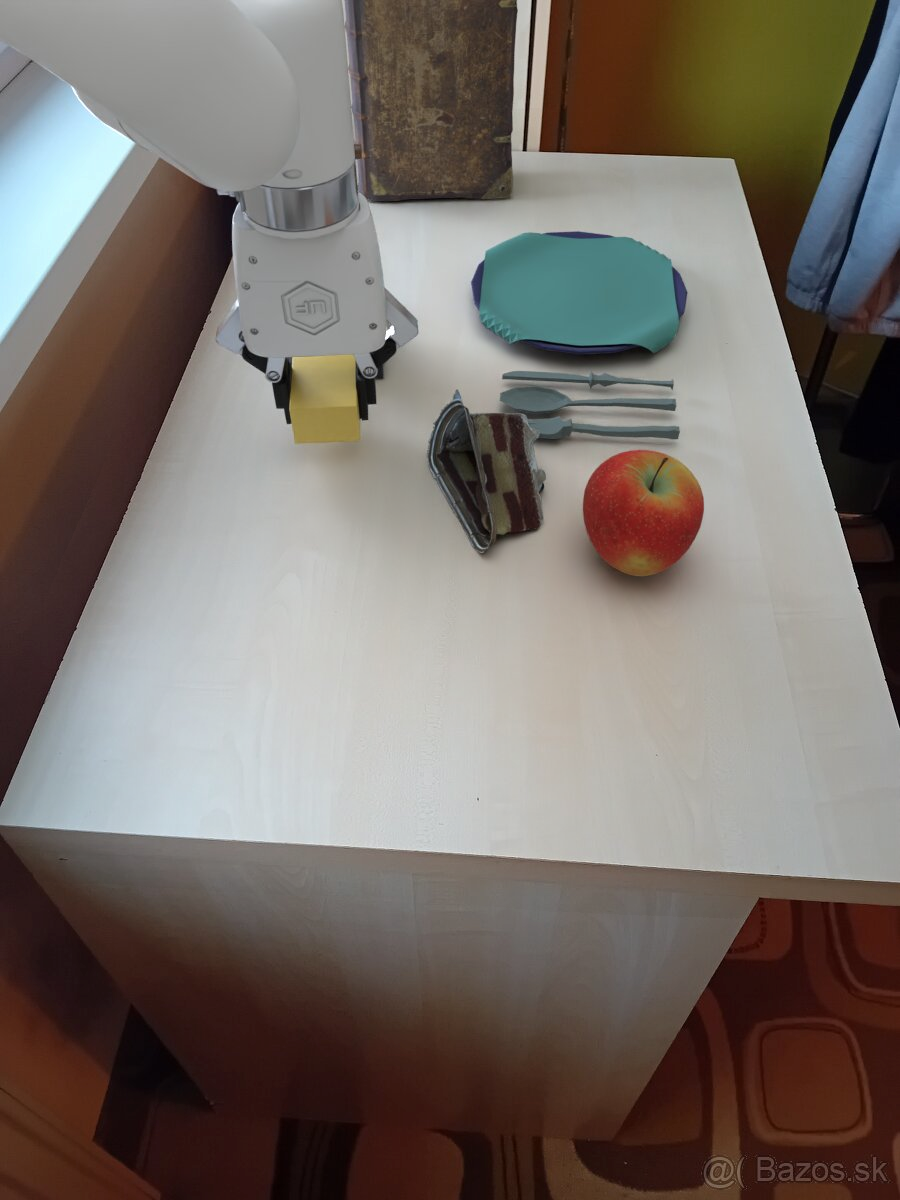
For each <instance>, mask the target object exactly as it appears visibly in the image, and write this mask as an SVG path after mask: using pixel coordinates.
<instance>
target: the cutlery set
mask: <svg viewBox="0 0 900 1200" xmlns="http://www.w3.org/2000/svg"><path fill="white" fill-rule="evenodd" d="M683 280H684V279H683V278H682V276H681V273H680V272H679V271H678V270H677V269H676V268H675V267H674V266H673V263H672V259H671V258H668V256H666V255H665V254H664V253H660V252H659V251H658V250H656V249H652V247H650V246H649V245H645V244H644V243H643V242H641V240H639V241H638V240H636V239H634V238H633V237H629V236H614V235H611V234H603V233H595V232H588V231H587V232H586V231H579V230H578V231H576V230H575V231H555V232H554V231H553V232H550V231H549V232H543V233H540V232H532V231H531V232H523V233H520V234H518V235H516V236H514V237H512V238H508V239H506V240H504V241H502V242H500V243H498V244H496V245H494V246H493V247H491V248H489V249H487V250H485V253H484V258H483V260H482V261H480V263H479V264H478V265H477V267H476V270H475V272H474V274H473V277H472V279H471V282H470V285H471V290H472V291H471V292H472V296H473V297H472V298H473V304H474V305H475V307H476V308H477V309H478V311H479V318H480V319H479V320H480V322H481V324H482V326H484V327H485V328H486V329H487V330H491V331H492V332H493V333H494V334H495V335H498V336H499V337H500V338H501V339H503V340H505V341H506V342H507V343H508V344H509V345H510V344H512V343H514V342H517V341H519V342H521V343H524V344H526V345H530V346H533V347H535V348H537V349H541V350H545V351H551V352H552V351H553V352H558V353H565V354H572V355H593V354H594V355H595V354H597V355H599V354H616V353H619V352H623V351H627V350H632V349H635V348H638V347H643V348H646V349H648V350H649V351H651V352H652V354H656V353H657V352H659V351H661V350H662V349H664V348H665V347H667V346H668V345H669V344H670V343H671V342H672V341H673V340H675V338H676V335H677V334H678V333H677V332H678V330H679V324H680V319H681V318H682V316H683V315H684V313H685V312H686V305H687V298H688V290H687V288H686V285H685V283H684V281H683ZM501 379H502V380H512V381H513V380H514V381H531V382H551V383H569V384H570V383H571V384H587V385H588V387H589V390H591V389H593V387H594V386H596V385H600V386H602V387H604V388H605V387H610V386H614V385H618V384H622V385H647V386H656V387H664V388H665V387H666V388H670V389H671V391H673V390H674V386H675V381H674V378H673V379H671V380H645V379H638V378H632V377H631V378H630V377H619V376H618V377H617V376H615V375H612V374H609V373H606V372H603V373H601V374H595V373H594V372H593V371H592V370H591V371H590V373H589V375H583V374H575V373H566V372H555V371H554V372H553V371H536V370H535V371H533V370H513V371H508V372H505V373H502V375H501ZM499 402H500V403H503V404H505V405H507V406H509V407H511V408H512V409H514V410H515V411H518V412H522V413H527V414H534V415H540V414H552V413H554V412H557V411H559V410H562V409H563V408H567V407H619V408H621V407H622V408H623V407H624V408H638V409H649V410H650V409H651V410H658V411H659V410H660V411H669V412H676V408H677V407H678V406H677V398H636V397H635V398H631V397H630V398H629V397H627V398H625V397H622V398H621V397H618V398H617V397H616V398H599V399H596V398H595V399H593V398H592V399H589V398H588V399H576V400H575V399H574V400H572V399H571V398H570V397H569V396H568V395H566V394H564V393H562V392H561V391H558V390H557V389H555V388H548V387H542V386H537V385H531V386H530V385H529V386H516V387H512V388H510V389H507V390H505V391H502V392H500V393H499ZM528 425H529V426H530V427H532V428H534V429H536V430H537V431H538V432H539V437H538V438H541V439H547V440H548V439H549V440H550V439H551V440H559V439H561V438H564V437H571V435H572V433H578V434H579V433H580V434H587V435H593V436H600V437H611V438H653V439H654V438H655V439H667V440H679V437H680V433H681V430H680V426H679V425H678V426H677V425H669V426H668V425H641V426H640V425H638V426H636V425H635V426H618V425H617V426H614V425H597V424H590V423H580V422H579V423H578V422H577V423H576V422H573V420H572V418H568V419H566V420H563V419H562V418H561V416H559V415H557V416H555V417H550V418H531V419H529V418H528Z"/></svg>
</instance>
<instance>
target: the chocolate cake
mask: <svg viewBox="0 0 900 1200" xmlns="http://www.w3.org/2000/svg"><path fill="white" fill-rule="evenodd" d="M528 420H529V418H528V417H527V415H526V414H524V413H523V412H522V413H521V412H515V413H512V412H473V413H471V412H470V410H469V407H467V406H465V405H464V402H463V399H462V395H461V393H460V391H459V389H456V390H455V392H454V394H453V395H452V400H451V401H450V402H449V403H446V404H445V406H444V407H443V408H442V409H441V410H440V412H439V416H438V417H437V418H436V420H435V421H434V422H433V423H432V424H433V427H432V431H431V433H430V436H429V439H428V442H427V443H428V445H427V452H426V459H427V466H428V468H429V471H430V472H431V473H432V479H434V480H435V479H436V481H437V483H436V484H437V485H438V487H439V489H440V490H441V491H442V493H443V495H444V496H445V499H446V500H447V503H448V505H449V506H450V507H451V510H452V513H453V514H454V516H456V517H457V519H458V520H459V523H460V525H461V527H462V530H464V531H465V533H466V536H467V538H468V539H467V540H469V542H470V544H471V547H472V548H473V549H475V550H476V552H478V553H481V554H483V553H485V551H487V549H489V547H491V546H493V545H494V544H495V542H496V539H497V535H503V536H505V534H507V533H511V534H516V533H519V532H524V531H529V530H530V531H532V530H538V529H539V528H540V527H541V524H542V522H543V521H544V512H543V504H542V497H541V495H540V493H541V492H543V491H544V489H545V481H546V480H547V473H546V471H545V469H543V468H538V462H537V458H536V454H535V448H534V442H535V441H536V440H538V439H539V438H540V437H539V432H538V431H537V430H536V429H534V428H532V427H530V426H529V425H528Z"/></svg>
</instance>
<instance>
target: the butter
mask: <svg viewBox="0 0 900 1200" xmlns="http://www.w3.org/2000/svg"><path fill="white" fill-rule="evenodd" d="M289 410H290V416H291V422H292V424H291V427H292V435H293V439H294V444H296V445H298V444H299V445H300V444H301V445H303V444H323V443H343V442H345V443H346V442H360V441H361V419H360V417H359V407H358V397H357V389H356V378H355V358H354V356H353V354H352V355H333V356H311V357H293V360H292V380H291V392H290V407H289Z"/></svg>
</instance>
